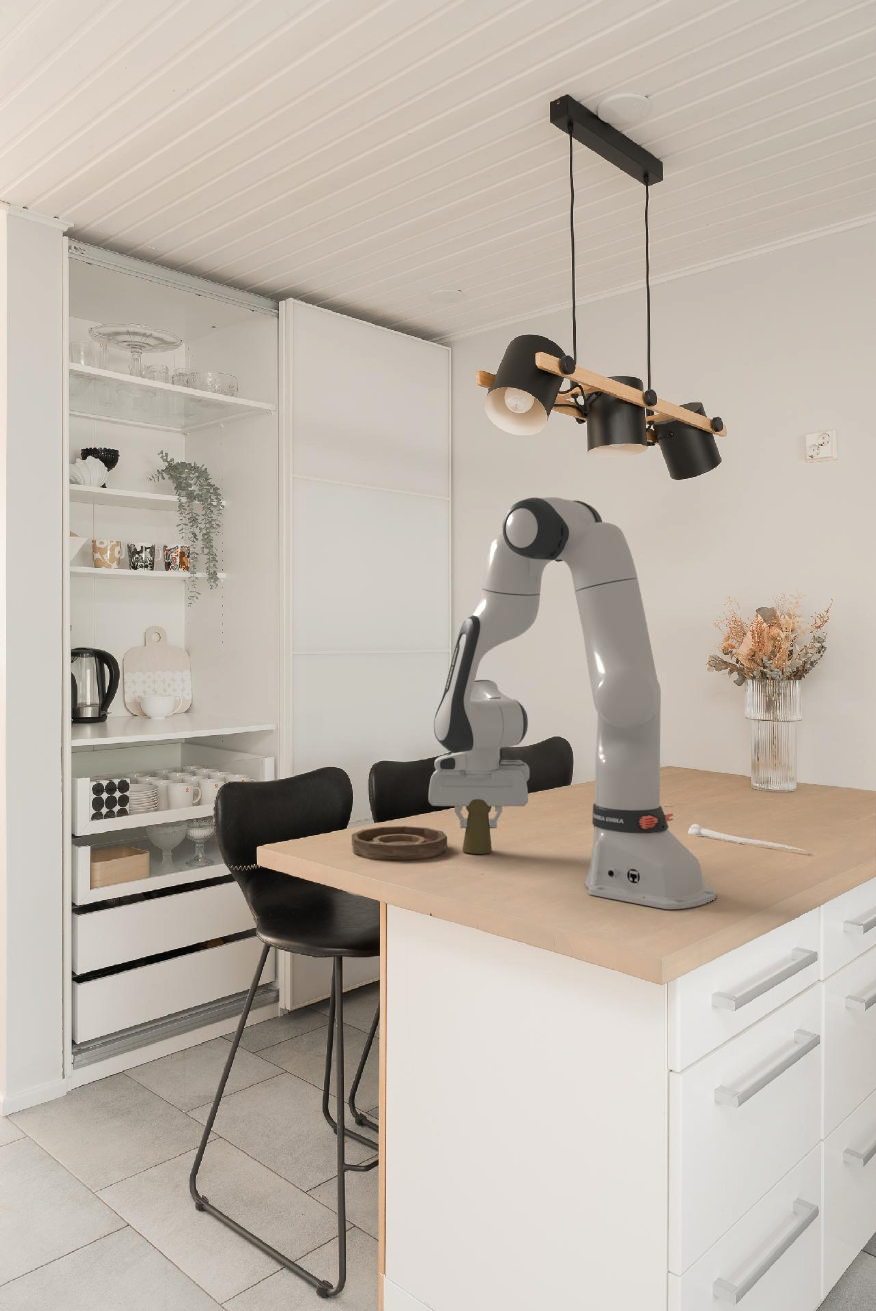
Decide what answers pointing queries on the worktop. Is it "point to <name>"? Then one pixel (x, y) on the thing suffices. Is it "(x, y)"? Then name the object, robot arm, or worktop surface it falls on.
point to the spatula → (730, 837)
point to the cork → (477, 828)
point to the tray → (399, 843)
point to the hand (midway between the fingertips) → (478, 827)
